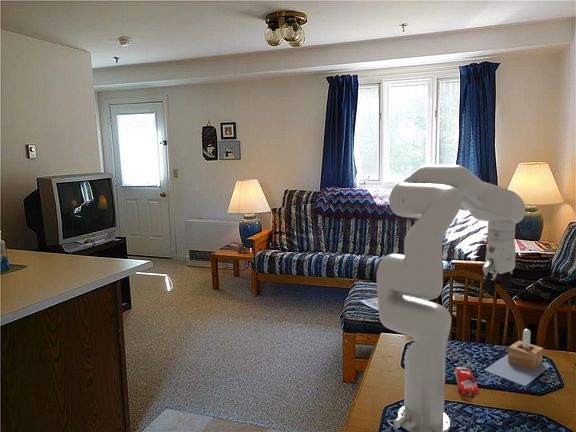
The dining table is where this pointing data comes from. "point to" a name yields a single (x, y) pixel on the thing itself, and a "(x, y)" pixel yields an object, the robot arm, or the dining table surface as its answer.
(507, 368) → the grey flat plate
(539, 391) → the dining table surface
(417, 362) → the robot arm
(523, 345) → the white rounded rod
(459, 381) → the race car
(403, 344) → the dining table surface
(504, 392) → the dining table surface
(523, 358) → the light brown hollow block
